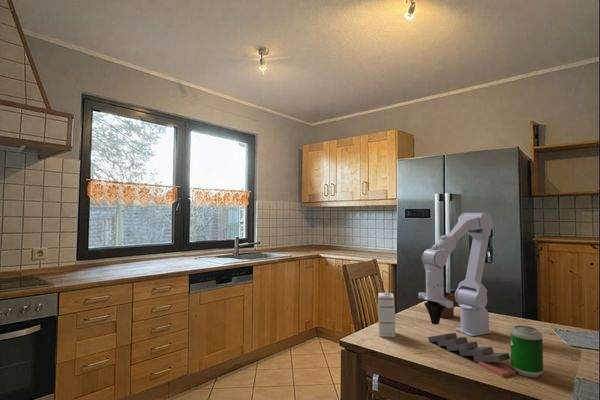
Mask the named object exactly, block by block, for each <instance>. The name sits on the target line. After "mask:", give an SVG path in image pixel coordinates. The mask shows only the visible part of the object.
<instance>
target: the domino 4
mask: <svg viewBox="0 0 600 400" xmlns="http://www.w3.org/2000/svg"><path fill="white" fill-rule="evenodd" d="M458 352H459V356H479V355H487V354H491V353H495V352H494V349H493V347H492V346H480V347H479V346H478V347H476V348H471V349H467V350H458Z"/></svg>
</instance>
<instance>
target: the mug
mask: <svg viewBox="0 0 600 400" xmlns="http://www.w3.org/2000/svg"><path fill="white" fill-rule="evenodd" d="M444 297H445V298H446V299H448V300H450V301H452V302H453V308H447V307H445V308H444V310H443V312H442V315H441V318H440V319H453V318H454V315H455V312H454V311H455V310H454V309H455V308H456V307H460V306H459V305H458V303H457V302H456V301H454V300H455V294H453V293H451V292H446V291H444Z"/></svg>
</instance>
